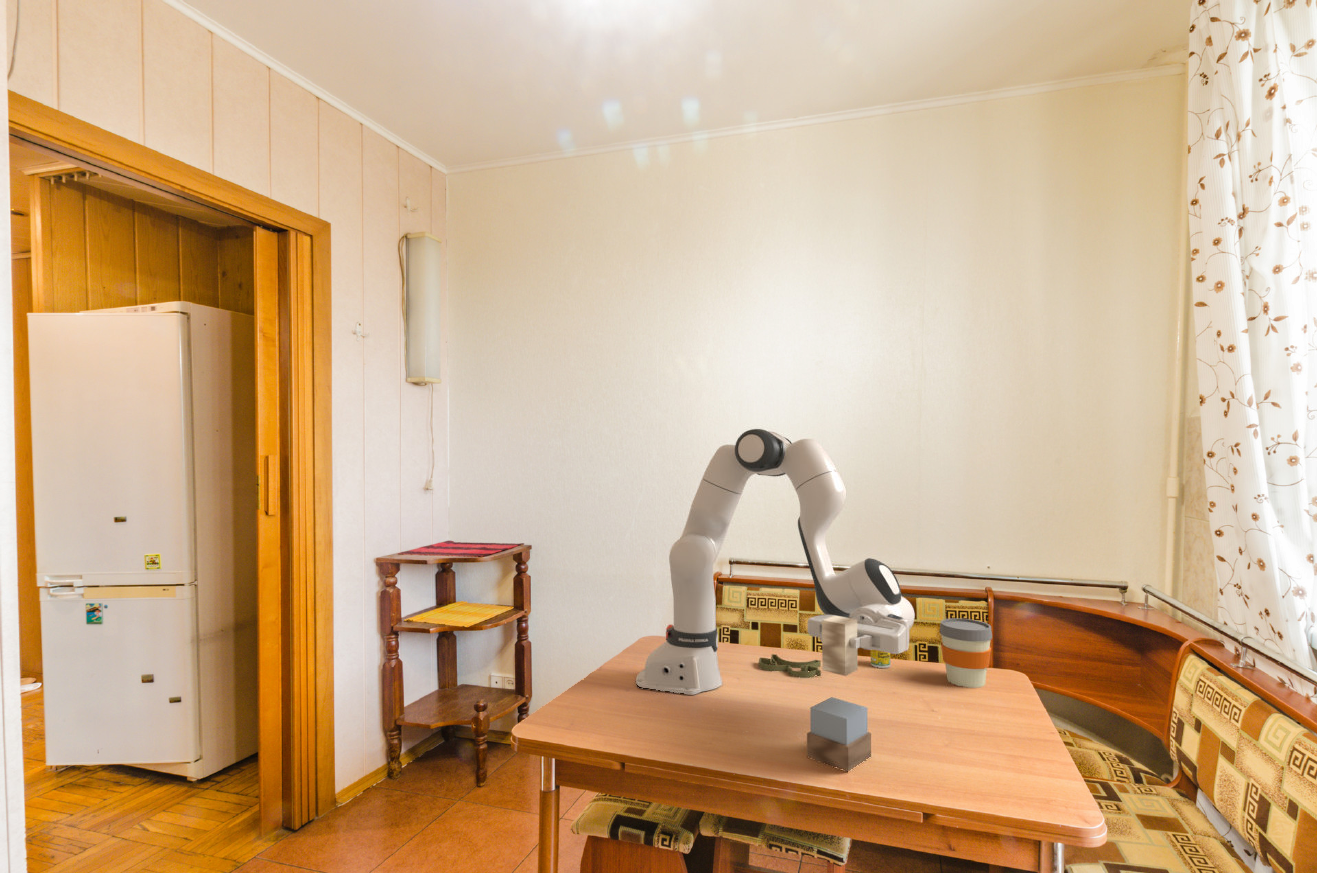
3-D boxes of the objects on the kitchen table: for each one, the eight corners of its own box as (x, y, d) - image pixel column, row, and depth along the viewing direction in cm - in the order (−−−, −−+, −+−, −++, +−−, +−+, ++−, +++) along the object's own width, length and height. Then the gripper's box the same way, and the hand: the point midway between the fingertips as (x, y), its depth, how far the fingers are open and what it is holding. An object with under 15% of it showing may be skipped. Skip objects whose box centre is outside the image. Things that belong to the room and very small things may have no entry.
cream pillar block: (822, 670, 134) (822, 620, 135) (834, 664, 138) (834, 615, 138) (845, 676, 131) (845, 624, 131) (857, 669, 135) (857, 619, 135)
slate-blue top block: (810, 733, 134) (810, 707, 134) (831, 721, 139) (831, 697, 139) (846, 745, 128) (846, 719, 128) (867, 732, 134) (867, 707, 134)
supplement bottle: (883, 662, 193) (883, 628, 193) (894, 667, 187) (894, 633, 188) (866, 663, 191) (866, 629, 192) (877, 669, 186) (876, 634, 186)
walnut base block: (807, 758, 133) (806, 733, 133) (830, 744, 140) (830, 720, 140) (848, 774, 127) (848, 747, 127) (871, 758, 133) (871, 733, 134)
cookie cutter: (827, 668, 188) (827, 661, 188) (818, 682, 178) (818, 674, 178) (765, 659, 196) (765, 652, 196) (752, 672, 185) (752, 665, 185)
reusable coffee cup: (1002, 683, 175) (1001, 625, 175) (975, 694, 168) (974, 633, 168) (957, 670, 185) (957, 615, 185) (930, 679, 178) (929, 622, 178)
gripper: (825, 604, 151) (792, 615, 141) (915, 620, 137) (885, 634, 127) (825, 632, 151) (792, 646, 141) (916, 651, 137) (886, 668, 127)
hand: (837, 640), depth 134 cm, fingers closed on cream pillar block, 5 cm apart
